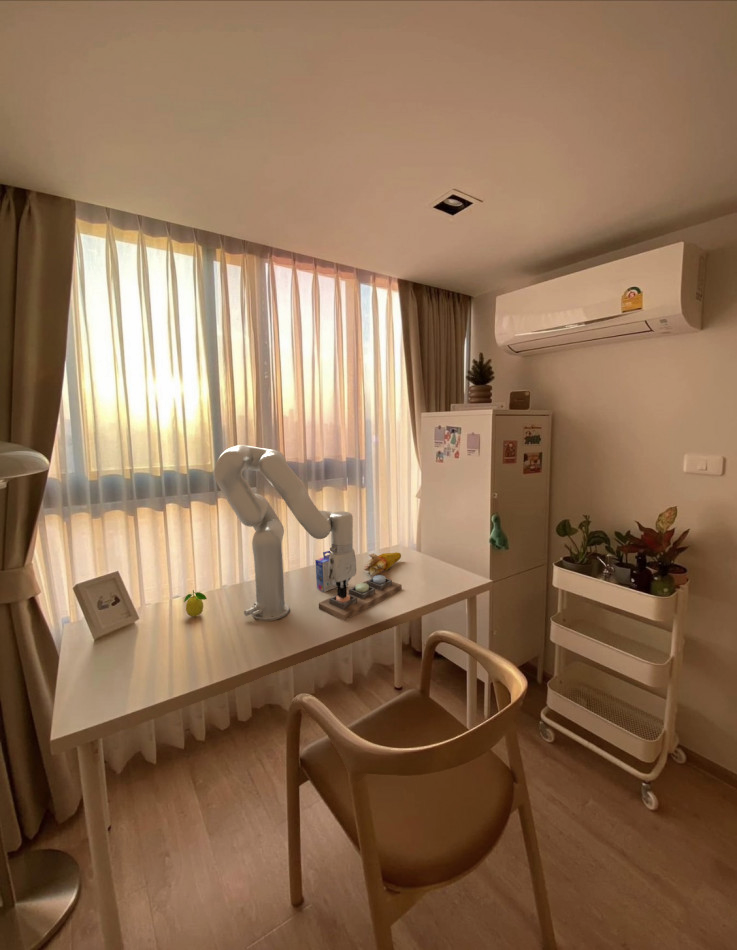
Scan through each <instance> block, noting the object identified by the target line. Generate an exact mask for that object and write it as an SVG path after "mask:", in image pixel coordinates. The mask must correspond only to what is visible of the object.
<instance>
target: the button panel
mask: <svg viewBox="0 0 737 950" xmlns="http://www.w3.org/2000/svg"><path fill="white" fill-rule="evenodd" d="M362 583H365V584H368V585H369V591H367V592H365V593H363V594H362V593H359V592H357V591H356V589H355V586H356V585H355V586H353V587H351V588H347V595H349V596H350V600H349V601H347V602H345V603H341V602H339V601H336V596H338V595H337V594H335V595H333V596H331V597H329V598H327V599H324V600H322V601H320V602H318V609H319V610H322V611H324V612H326V613H328V614H330V615H331V616H334V617H336V618H338V619H340V620H342V621H346V620H348V619H350V618H351V617H353V616H355V615H357V614H359V613H361V612H363V611H365V610H366V609H369V608H370V607H372V606H374V605H375V604H377V603H380V602H381V601H383V600H385V599H387V598H389V597H390V596H392V595H394V594H396V593H398V592H400V591H402V590H403V589H402V588H403V587H402V586H403V585H402V584H401V583H397V582H395V581H392V579H390V578H387V577H386V582H385V583H383V584H381V585H379V584H376V583H373V578H371V577H370V578H369V579H366V581H365V580H364V581H363V582H362Z"/></svg>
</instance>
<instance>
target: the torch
mask: <svg viewBox="0 0 737 950" xmlns="http://www.w3.org/2000/svg"><path fill="white" fill-rule="evenodd" d="M368 556H369V557H370V560H368V561H367V563H365V564H364V565H362V566H363V570H364V571H367V572H368V573H367V574H368V575H370V579H371V578H373V577H374V576H377V575H380V573H382V572H383V571H384V572H387V571H388V570H389V569H390V568H391V567H392V566H394V565H395V564H396V563H397V562H399V560H400V559H402V558H401V557H402V554H401V552H397V551H395V552H387V553H381V554H379V555H377V554H375V553H371V554H368Z"/></svg>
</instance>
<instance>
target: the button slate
mask: <svg viewBox="0 0 737 950" xmlns="http://www.w3.org/2000/svg"><path fill="white" fill-rule="evenodd" d="M386 578H387V577H386V576H384V575H380V574H377V575H376V576H374V577H373V583H376V584H379V585H381V584H383V583H385V582H386Z"/></svg>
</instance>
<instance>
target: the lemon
mask: <svg viewBox="0 0 737 950" xmlns="http://www.w3.org/2000/svg"><path fill="white" fill-rule="evenodd" d="M204 600H207V596H206V594H204V593H202V592H199V591H197V592H195V591H194V589H192V593H188V594H187V595H186V596H185V597H184V601H183V602H184V603H185V602H186V603H185V604H186V605H185V611H186V613H187V614H188V616H190V617H194V618H197V617H198V616H199V615H200V614H202V612H203V610H204V602H203V601H204Z"/></svg>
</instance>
